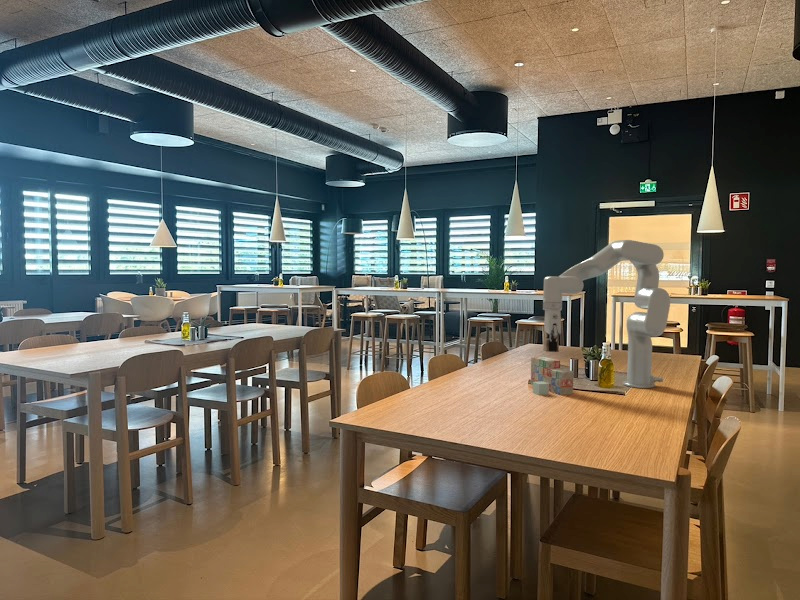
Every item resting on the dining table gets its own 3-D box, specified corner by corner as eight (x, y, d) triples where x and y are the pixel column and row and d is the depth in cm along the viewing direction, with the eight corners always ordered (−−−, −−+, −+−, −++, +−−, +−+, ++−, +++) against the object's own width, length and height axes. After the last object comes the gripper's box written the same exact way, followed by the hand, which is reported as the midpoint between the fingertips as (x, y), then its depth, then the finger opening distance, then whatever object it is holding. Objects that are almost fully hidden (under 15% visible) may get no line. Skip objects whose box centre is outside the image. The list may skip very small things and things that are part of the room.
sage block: (542, 392, 228) (542, 381, 228) (548, 394, 224) (548, 383, 224) (532, 393, 227) (532, 381, 227) (538, 395, 223) (539, 384, 222)
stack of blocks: (573, 394, 225) (574, 363, 224) (560, 395, 223) (560, 364, 222) (542, 384, 245) (543, 355, 245) (530, 384, 243) (530, 356, 242)
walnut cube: (555, 350, 236) (555, 338, 236) (558, 351, 231) (558, 339, 231) (543, 350, 236) (543, 338, 236) (546, 351, 231) (546, 339, 231)
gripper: (567, 307, 224) (565, 353, 225) (556, 305, 241) (555, 347, 242) (547, 307, 224) (546, 353, 225) (538, 304, 241) (537, 347, 242)
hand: (551, 349), depth 233 cm, fingers closed on walnut cube, 5 cm apart
